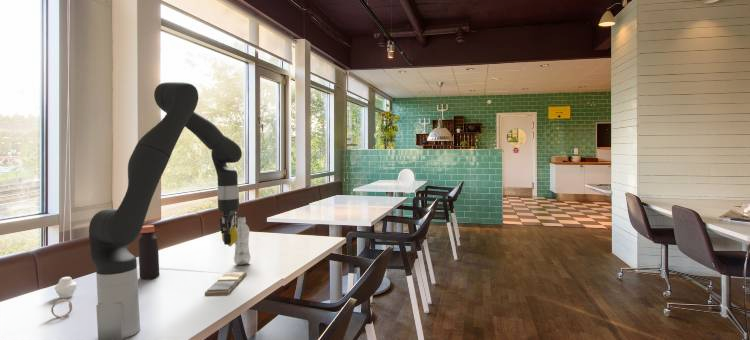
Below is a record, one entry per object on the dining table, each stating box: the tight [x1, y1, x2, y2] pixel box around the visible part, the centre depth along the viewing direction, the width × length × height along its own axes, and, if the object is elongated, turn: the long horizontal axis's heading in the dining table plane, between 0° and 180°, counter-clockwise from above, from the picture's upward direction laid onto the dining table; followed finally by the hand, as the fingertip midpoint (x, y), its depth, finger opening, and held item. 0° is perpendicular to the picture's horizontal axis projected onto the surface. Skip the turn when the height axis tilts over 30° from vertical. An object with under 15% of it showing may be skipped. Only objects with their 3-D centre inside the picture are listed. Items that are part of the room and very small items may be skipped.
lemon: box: [221, 225, 238, 247], centre depth 155 cm, size 6×6×8 cm
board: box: [204, 271, 247, 296], centre depth 151 cm, size 22×8×2 cm, turn 2°
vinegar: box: [137, 224, 160, 280], centre depth 162 cm, size 7×7×20 cm
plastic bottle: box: [233, 216, 251, 266], centre depth 177 cm, size 6×7×20 cm
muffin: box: [54, 276, 78, 299], centre depth 142 cm, size 6×6×7 cm
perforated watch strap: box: [50, 298, 73, 318], centre depth 124 cm, size 3×5×5 cm, turn 138°
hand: (230, 242), depth 155 cm, fingers closed on lemon, 5 cm apart
